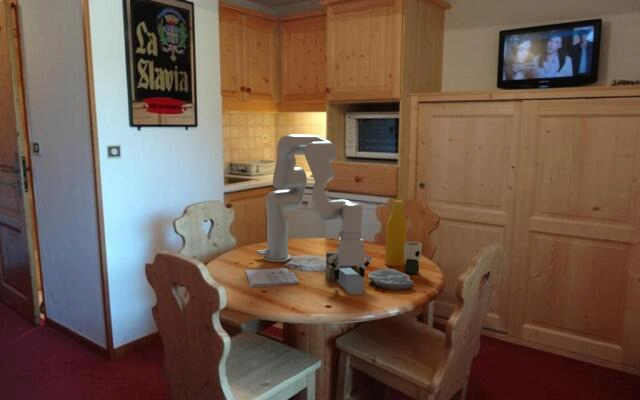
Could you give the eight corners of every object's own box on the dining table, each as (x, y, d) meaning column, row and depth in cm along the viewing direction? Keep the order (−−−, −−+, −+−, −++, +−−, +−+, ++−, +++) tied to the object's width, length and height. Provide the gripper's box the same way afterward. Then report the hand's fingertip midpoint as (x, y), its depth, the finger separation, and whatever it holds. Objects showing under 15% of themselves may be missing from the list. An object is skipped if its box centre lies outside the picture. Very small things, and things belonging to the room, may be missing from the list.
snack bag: (250, 288, 179) (250, 283, 179) (244, 272, 199) (244, 267, 198) (299, 285, 185) (299, 279, 184) (289, 269, 204) (289, 264, 203)
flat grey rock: (359, 278, 194) (359, 271, 194) (395, 274, 200) (396, 267, 200) (381, 294, 176) (382, 287, 176) (421, 290, 182) (421, 282, 182)
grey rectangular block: (350, 295, 175) (351, 276, 174) (335, 280, 190) (336, 264, 189) (363, 293, 177) (364, 275, 175) (347, 280, 192) (348, 263, 190)
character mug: (414, 277, 196) (416, 247, 194) (398, 274, 200) (400, 244, 198) (424, 271, 205) (426, 242, 203) (409, 268, 209) (410, 239, 207)
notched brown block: (329, 281, 188) (330, 254, 186) (325, 275, 196) (326, 248, 194) (361, 280, 190) (362, 253, 188) (355, 274, 199) (356, 248, 197)
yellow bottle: (399, 268, 208) (402, 203, 203) (380, 264, 214) (383, 200, 209) (408, 263, 215) (412, 201, 211) (390, 259, 221) (394, 198, 216)
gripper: (330, 238, 175) (329, 282, 178) (375, 237, 178) (373, 281, 181) (326, 233, 182) (325, 276, 185) (370, 232, 185) (368, 274, 188)
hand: (349, 278), depth 183 cm, fingers open, 9 cm apart
